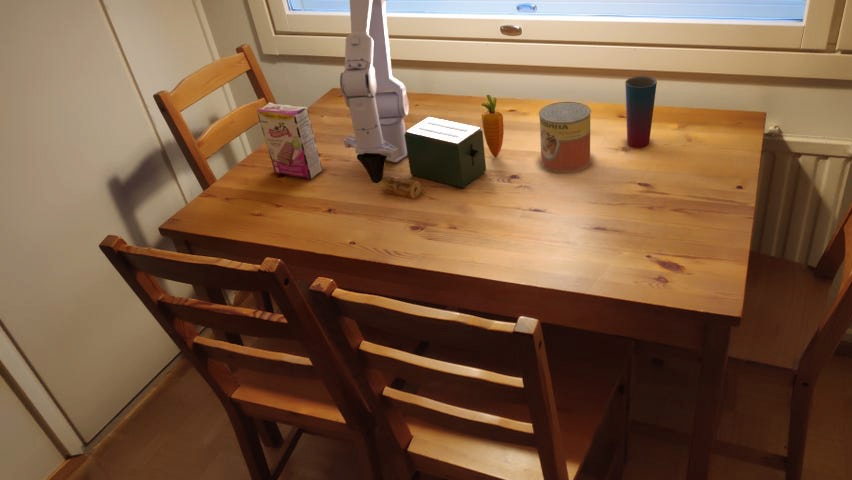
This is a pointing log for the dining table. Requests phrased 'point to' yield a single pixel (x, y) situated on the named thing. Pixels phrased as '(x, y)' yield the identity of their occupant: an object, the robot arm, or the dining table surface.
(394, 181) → the tan cylinder with hole
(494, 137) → the carrot
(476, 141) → the toaster
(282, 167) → the candy bar box
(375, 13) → the robot arm
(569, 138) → the canned food
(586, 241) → the dining table surface
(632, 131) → the cup
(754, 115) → the dining table surface
